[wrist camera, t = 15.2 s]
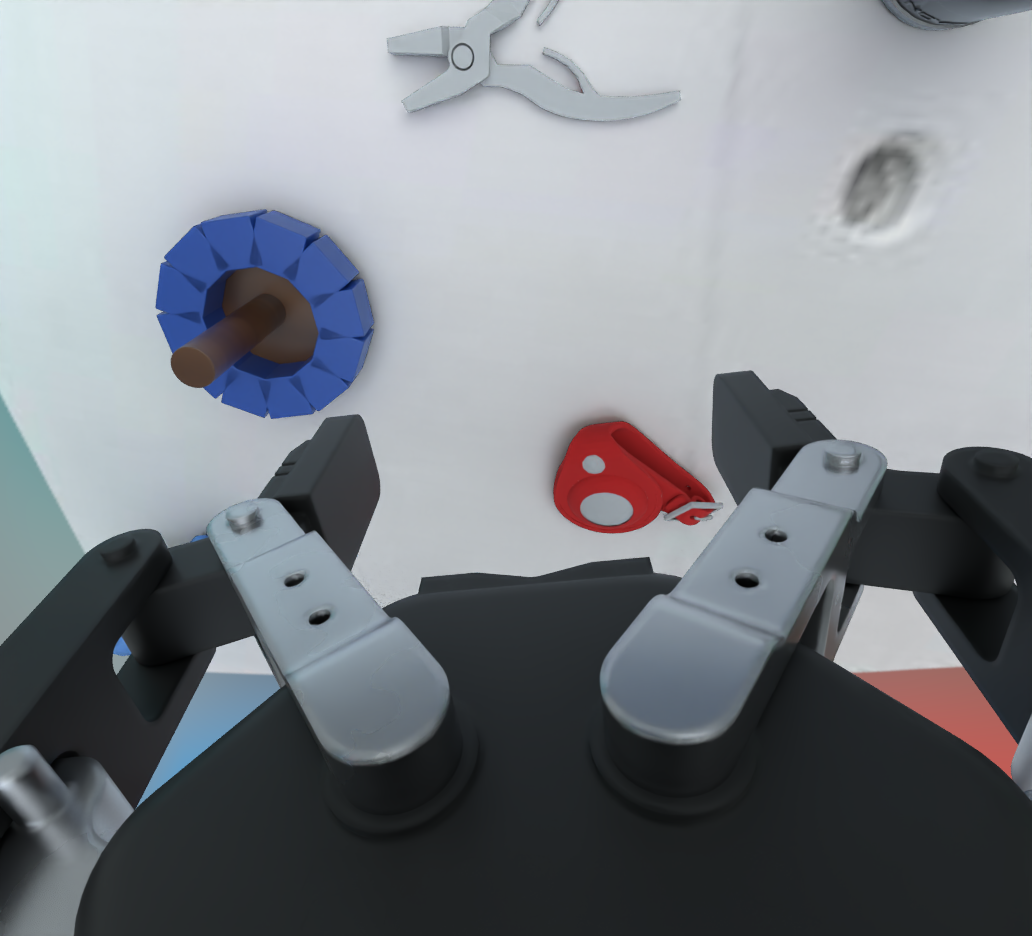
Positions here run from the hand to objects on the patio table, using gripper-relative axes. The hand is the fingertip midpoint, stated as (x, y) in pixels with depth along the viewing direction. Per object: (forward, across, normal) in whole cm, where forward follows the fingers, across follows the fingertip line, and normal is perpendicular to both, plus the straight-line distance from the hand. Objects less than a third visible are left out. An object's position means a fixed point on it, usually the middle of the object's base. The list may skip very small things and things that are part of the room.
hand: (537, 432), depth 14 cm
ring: (+27, +17, +3) cm, 32 cm away
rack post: (+28, +18, +2) cm, 33 cm away
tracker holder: (+28, -5, +19) cm, 35 cm away
